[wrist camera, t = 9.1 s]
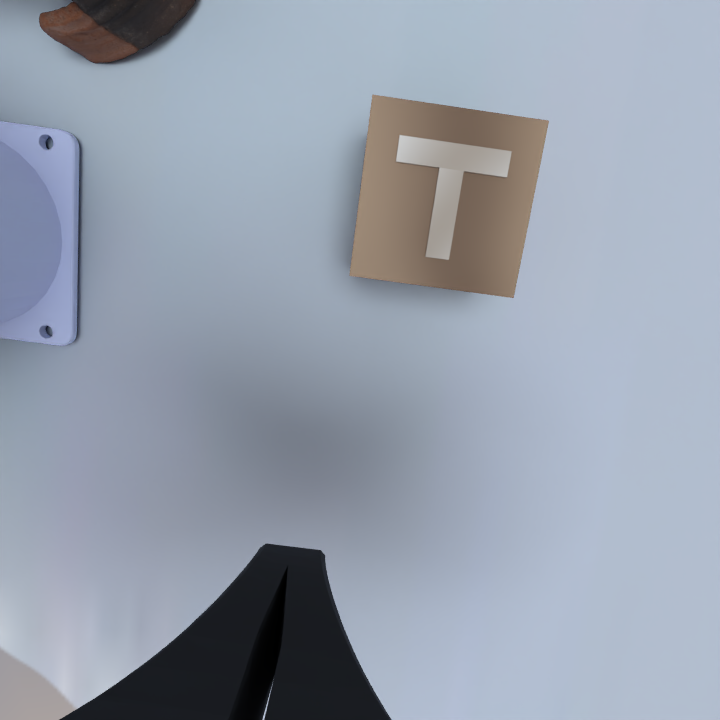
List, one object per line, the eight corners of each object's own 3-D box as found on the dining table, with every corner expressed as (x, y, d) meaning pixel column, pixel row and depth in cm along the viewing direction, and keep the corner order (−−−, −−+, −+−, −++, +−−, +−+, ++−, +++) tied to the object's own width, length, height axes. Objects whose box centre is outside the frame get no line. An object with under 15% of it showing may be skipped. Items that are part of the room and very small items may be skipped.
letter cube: (351, 269, 20) (349, 275, 15) (368, 131, 19) (373, 89, 14) (475, 285, 20) (514, 298, 15) (500, 150, 19) (551, 116, 14)
